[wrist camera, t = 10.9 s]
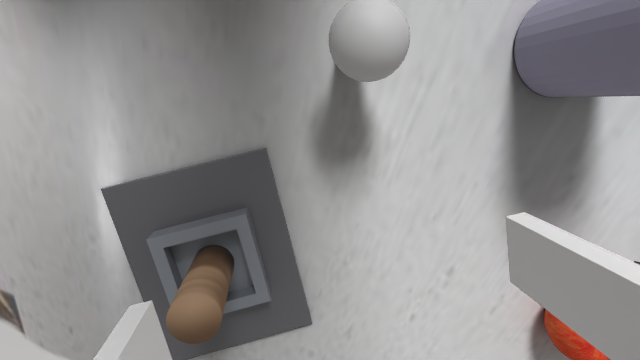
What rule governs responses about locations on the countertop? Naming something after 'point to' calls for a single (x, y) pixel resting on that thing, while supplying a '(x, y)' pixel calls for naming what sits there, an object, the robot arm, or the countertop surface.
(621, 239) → the countertop surface
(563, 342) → the apple
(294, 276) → the socket
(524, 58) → the container
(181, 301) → the peg
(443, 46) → the countertop surface
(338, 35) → the lightbulb
